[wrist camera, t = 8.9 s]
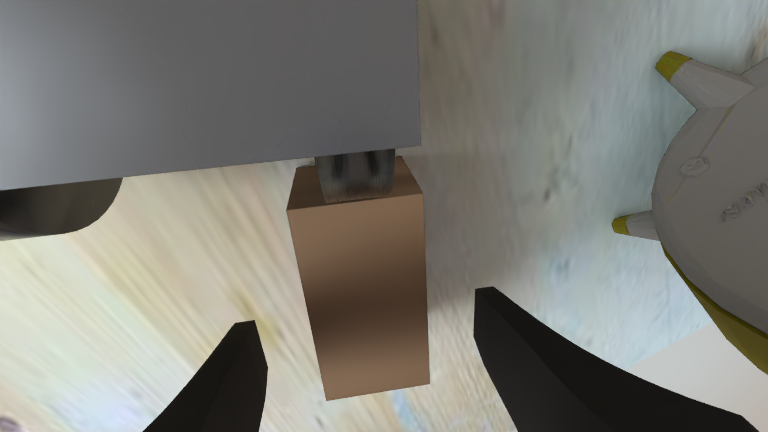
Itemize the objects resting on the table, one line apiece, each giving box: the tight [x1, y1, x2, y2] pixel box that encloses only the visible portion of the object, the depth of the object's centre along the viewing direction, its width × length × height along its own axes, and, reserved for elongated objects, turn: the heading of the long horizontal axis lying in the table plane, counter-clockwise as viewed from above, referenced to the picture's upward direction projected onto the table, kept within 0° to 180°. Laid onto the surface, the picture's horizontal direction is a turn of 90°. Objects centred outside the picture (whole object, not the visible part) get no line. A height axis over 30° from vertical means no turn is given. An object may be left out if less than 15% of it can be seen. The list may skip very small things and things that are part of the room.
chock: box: [286, 156, 430, 401], centre depth 15 cm, size 8×4×4 cm, turn 5°
